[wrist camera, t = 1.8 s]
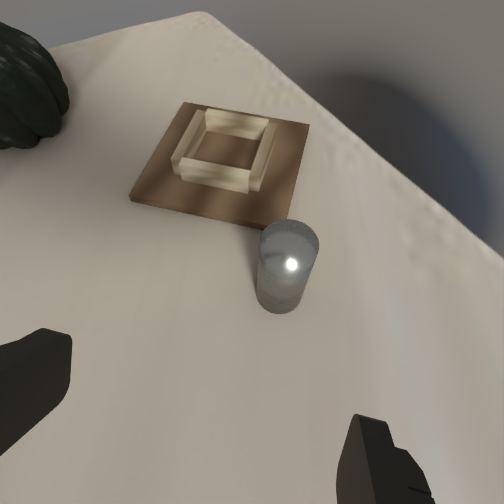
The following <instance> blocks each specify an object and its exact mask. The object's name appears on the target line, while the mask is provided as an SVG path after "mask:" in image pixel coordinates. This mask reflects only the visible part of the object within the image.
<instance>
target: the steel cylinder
mask: <svg viewBox="0 0 504 504" xmlns="http://www.w3.org/2000/svg"><path fill="white" fill-rule="evenodd" d="M318 251H319V241H318V238H317V236H316V234H315V233H314V231H313V230H312V229H311V228H310V227H309V226H307V225H306V224H304V223H302V222H299V221H296V220H290V219H284V220H279V221H276V222H273V223H272V224H270V225H269V226H267V227H266V228H265V230H264V231H263V233H262V235H261V238H260V249H259V261H258V274H257V286H256V296H257V299H258V302H259V303H260V305H261V306H262V307H263V308H264V309H266V310H267V311H269V312H271V313H275V314H285V313H288V312H291V311H292V310H294V309H295V308H296V307H297V306H298V304H299V302H300V300H301V297H302V295H303V292H304V289H305V286H306V284H307V281H308V278H309V276H310V273H311V270H312V267H313V265H314V262H315V259H316V257H317V254H318Z"/></svg>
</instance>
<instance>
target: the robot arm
mask: <svg viewBox="0 0 504 504" xmlns="http://www.w3.org/2000/svg"><path fill="white" fill-rule="evenodd" d="M71 356H72V338H71V336H70V335H68V334H64V333H61V332H57V331H53V330H50V329H46V328H41V329H38V330H36V331H34V332H33V333H31V334H29V335H27V336H25V337H23V338H22V339H20V340H17V341H14V342H10V343H7V344H4V345H0V456H1V455H2V454H3V453H4V452H6V451H7V450H8V449H9V448H10V447H11V446H12V445H13V444H15V443H16V442H17V441H18V440H19V439H20V438H21V437H22V436H24V435H25V434H26V433H27V432H28V431H29V430H30V429H32V428H33V427H34V426H35V425H36V424H37V423H38V422H39V421H41V420H42V419H43V418H44V417H45V416H46V415H47V414H49V413H50V412H51V411H52V410H53V409H54V408H55V407H56V406H57V405H59V403H60V402H61V401H62V400H63V398H64V396H65V395H66V393H67V390H68V388H69V384H70V373H71ZM336 494H337V504H435V501H434V499H433V498H432V497H431V494H432V493H431V491H430V488H429V486H428V483H427V481H426V478H425V475H424V473H423V471H422V469H421V468H420V467H419V466H418V464H417V463H416V462H415V460H414V459H413V458H412V457H411V455H410V454H409V453H408V451H407V450H404V449H400V448H397V447H395V446H394V443H393V440H392V436H391V433H390V430H389V427H388V424H387V423H386V422H385V421H381V420H377V419H374V418H370V417H366V416H363V415H359V414H354V416H353V418H352V420H351V423H350V427H349V430H348V433H347V437H346V440H345V443H344V447H343V450H342V453H341V457H340V460H339V464H338V470H337V478H336Z"/></svg>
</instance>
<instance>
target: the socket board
mask: <svg viewBox="0 0 504 504" xmlns="http://www.w3.org/2000/svg"><path fill="white" fill-rule="evenodd" d="M309 125H310V124H304V123H299V122H293V121H287V120H282V119H276V118H271V117H265V116H260V115H254V114H249V113H243V112H237V111H232V110H226V109H221V108H215V107H210V106H204V105H198V104H193V103H187V102H184V103H183V105H182V106H181V108H180V110H179V111H178V113H177V115H176V116H175V118H174V120H173V121H172V123H171V125H170V126H169V128H168V130H167V132H166V133H165V135H164V137H163V138H162V140H161V142H160V143H159V145H158V147H157V148H156V150H155V152H154V154H153V155H152V157H151V159H150V160H149V162H148V164H147V165H146V167H145V169H144V170H143V172H142V174H141V175H140V177H139V179H138V181H137V182H136V184H135V186H134V187H133V189H132V191H131V192H130V194H129V197H130V199H131V201H133V202H138V203H142V204H147V205H151V206H156V207H161V208H165V209H170V210H174V211H179V212H183V213H188V214H193V215H197V216H202V217H206V218H211V219H215V220H220V221H225V222H229V223H234V224H238V225H243V226H247V227H252V228H257V229H261V230H265V228H266V227H267V226H269V225H270V224H272V223H273V222H276V221H279V220H284V219H287V215H288V211H289V207H290V203H291V199H292V195H293V191H294V187H295V183H296V179H297V175H298V171H299V167H300V163H301V159H302V155H303V151H304V147H305V143H306V139H307V135H308V130H309Z"/></svg>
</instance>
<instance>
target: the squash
mask: <svg viewBox="0 0 504 504" xmlns="http://www.w3.org/2000/svg"><path fill="white" fill-rule="evenodd" d="M69 104H70V101H69V96H68V89H67V86H66V84H65V83H64V81H63V79H62V75H61V72H60V70H59V68H58V66H57V65H56V63H55V61H54V59H53V58H52V56H51V55H50V53H49V52H48V51H47V50H46V49H45V48H44V47H42V46H41V44H40V43H39V42H38V41H37V40H36V39H34V38H33V37H31V36H30V35H28V34H26V33H24V32H22V31H20V30H18V29H15V28H12V27H10V26H8V25H6V24H4V23H1V22H0V149H6V148H9V147H10V146H13V147H16V148H22V149H30V148H32V147H34V146H35V145H36V143H37V140H38V135H39V136H42V137H53V136H55V135H56V134H58V133H59V131H60V128H61V118H60V117H61V116H63V115H64V114H65V113H66V112H67V110H68V108H69Z"/></svg>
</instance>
